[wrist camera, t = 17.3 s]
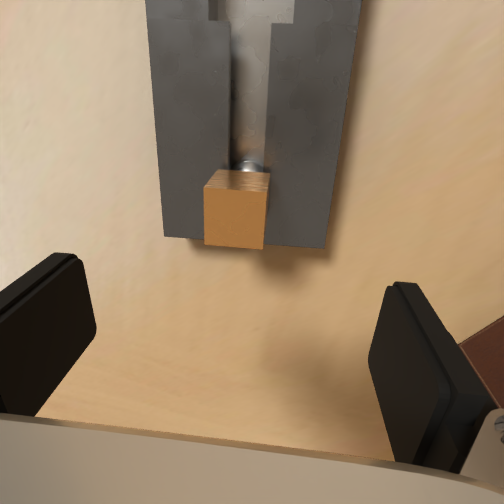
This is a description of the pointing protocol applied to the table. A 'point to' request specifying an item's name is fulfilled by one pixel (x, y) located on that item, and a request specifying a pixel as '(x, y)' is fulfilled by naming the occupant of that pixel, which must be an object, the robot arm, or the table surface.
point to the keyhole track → (251, 105)
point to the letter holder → (488, 358)
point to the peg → (237, 206)
